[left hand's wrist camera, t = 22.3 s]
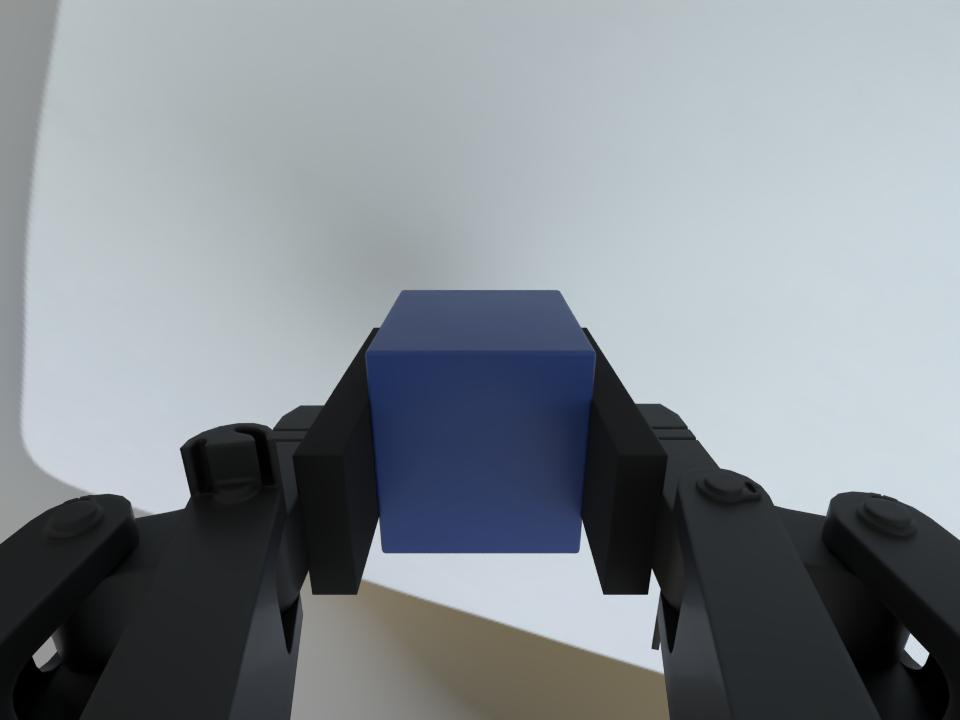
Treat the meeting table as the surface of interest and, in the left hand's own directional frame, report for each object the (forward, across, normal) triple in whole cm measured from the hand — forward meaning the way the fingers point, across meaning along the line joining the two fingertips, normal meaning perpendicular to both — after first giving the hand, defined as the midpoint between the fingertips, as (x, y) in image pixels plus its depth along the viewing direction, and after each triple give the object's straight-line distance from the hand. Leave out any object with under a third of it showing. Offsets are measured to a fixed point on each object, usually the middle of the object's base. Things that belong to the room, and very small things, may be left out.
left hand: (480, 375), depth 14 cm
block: (0, 0, 0) cm, 0 cm away
